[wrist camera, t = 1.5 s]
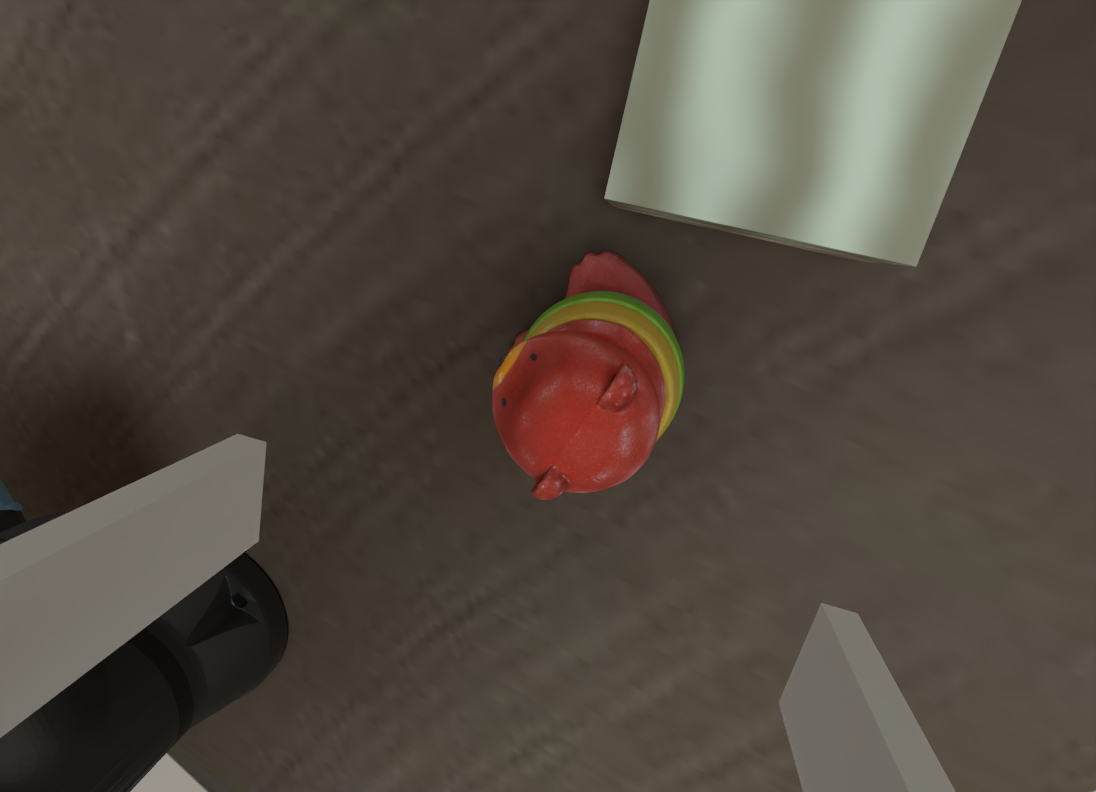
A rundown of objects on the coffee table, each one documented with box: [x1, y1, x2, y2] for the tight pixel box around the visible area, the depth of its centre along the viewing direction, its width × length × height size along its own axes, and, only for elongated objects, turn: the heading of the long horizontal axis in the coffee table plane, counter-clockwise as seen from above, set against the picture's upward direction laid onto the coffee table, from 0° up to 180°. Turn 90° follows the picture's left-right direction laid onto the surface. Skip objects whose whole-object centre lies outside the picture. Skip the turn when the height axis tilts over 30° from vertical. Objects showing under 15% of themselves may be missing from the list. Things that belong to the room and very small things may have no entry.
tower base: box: [604, 0, 1022, 267], centre depth 29 cm, size 15×15×8 cm
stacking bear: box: [492, 250, 685, 500], centre depth 30 cm, size 11×10×18 cm
